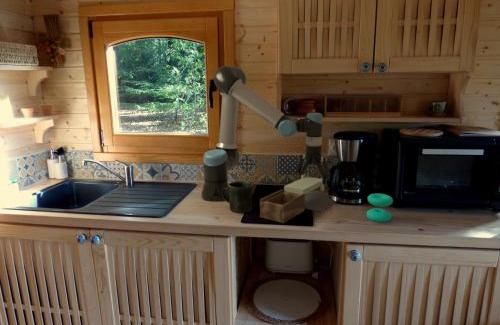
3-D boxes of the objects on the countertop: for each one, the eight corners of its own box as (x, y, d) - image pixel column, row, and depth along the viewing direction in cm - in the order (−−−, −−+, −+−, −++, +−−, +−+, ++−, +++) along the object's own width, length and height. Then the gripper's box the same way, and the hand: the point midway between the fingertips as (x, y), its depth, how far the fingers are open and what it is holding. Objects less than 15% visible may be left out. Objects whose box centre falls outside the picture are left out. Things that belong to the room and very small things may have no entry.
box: (259, 217, 153) (260, 199, 151) (281, 205, 167) (282, 189, 165) (283, 223, 146) (284, 204, 144) (304, 210, 160) (304, 193, 158)
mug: (249, 214, 156) (249, 188, 153) (218, 211, 160) (217, 186, 157) (255, 206, 166) (255, 182, 163) (226, 204, 170) (225, 179, 167)
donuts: (369, 199, 145) (366, 192, 154) (367, 222, 147) (364, 213, 156) (395, 200, 143) (390, 193, 152) (393, 223, 145) (388, 215, 155)
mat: (286, 204, 169) (286, 203, 168) (311, 191, 189) (311, 189, 189) (321, 212, 158) (321, 211, 158) (343, 197, 179) (343, 196, 178)
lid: (284, 191, 165) (284, 186, 165) (306, 180, 183) (306, 176, 182) (303, 195, 160) (303, 189, 159) (324, 184, 177) (324, 179, 176)
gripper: (289, 143, 177) (289, 186, 182) (332, 148, 163) (330, 194, 168) (297, 141, 182) (296, 183, 187) (338, 146, 169) (336, 190, 174)
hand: (312, 188), depth 178 cm, fingers closed on lid, 10 cm apart
